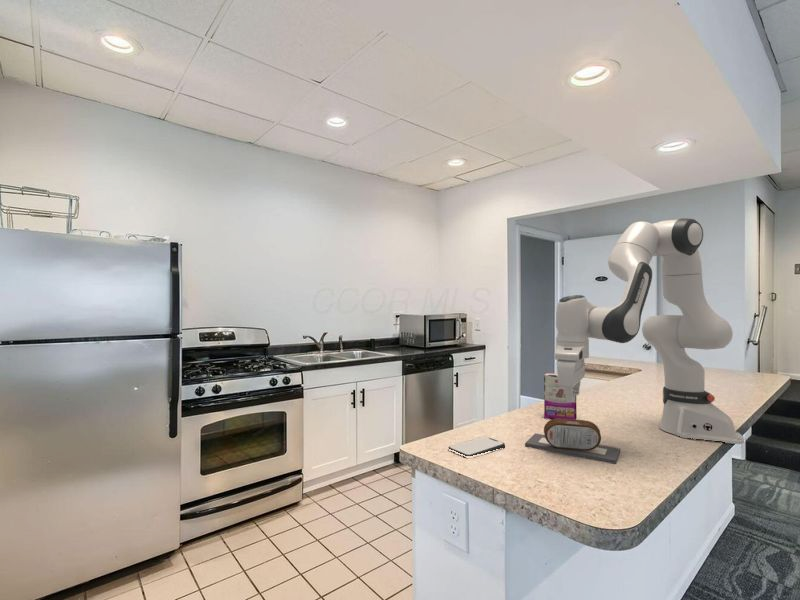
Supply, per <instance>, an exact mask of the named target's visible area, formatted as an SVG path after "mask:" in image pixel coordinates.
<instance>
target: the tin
mask: <svg viewBox="0 0 800 600" xmlns="http://www.w3.org/2000/svg"><path fill="white" fill-rule="evenodd" d="M543 435H545V438H546V440H547V442H548V443H549V444H550V445H552V446H554V447H556V448H564V449H575V450H585V451H588V450H593V449H595V448H596V447H597V446H598V445H601V441H602V436H601V435H602V434H601V431H600V428H599V427H598V425H596V424H595V423H594V422H592V421H589V420H584V419H576V420H572V419H561V418H556V419H549V420H548V421H547V422H546V423H545V425H544V427H543Z"/></svg>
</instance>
